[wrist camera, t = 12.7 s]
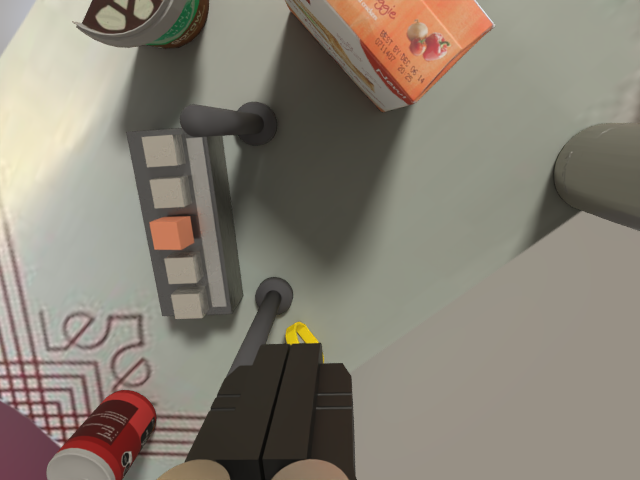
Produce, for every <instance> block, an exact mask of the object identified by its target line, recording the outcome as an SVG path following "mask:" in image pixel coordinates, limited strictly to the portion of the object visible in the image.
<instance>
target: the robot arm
mask: <svg viewBox="0 0 640 480" xmlns="http://www.w3.org/2000/svg"><path fill="white" fill-rule="evenodd" d="M554 182H555V186H556V189H557V191H558V193H559V195H560V197H561V198H562V199H563V200H564V201H565V202H566V203H567V204H569V205H570V206H572V207H574V208H576V209H579V210H582V211H585V212H587V213H590V214H593V215H596V216H598V217H601V218H604V219H607V220H609V221H612V222H615V223H618V224H621V225H624V226H627V227H630V228H632V229H635V230H638V231H640V123H606V124H598V125H594V126H591V127H589V128H587V129H584V130H582V131H581V132H579V133H578V134H576V135H575V136H574V137H572V138H571V139H570V141H569V142H568V143H567V144H566V145H565V146H564V148H563V149H562V151H561V152H560V154H559V156H558V159H557V161H556V164H555V169H554ZM354 446H355V442H354V417H353V399H352V379H351V375H350V374H349V372H348V371H347V369H346V368H345V366H344V365H343V363H328V364H323V352H322V345H321V343H296V344H292V345H291V344H262V345H261V346H260V347H259V350H258V352H257V355H256V357H255V360H254V362H253V365H241V366H238V367H237V368H236V369H235V370H234V371H233V372H232V373H231V374H230V375H228V376H227V377H226V378H225V379H224V381H223V383H222V386H221V388H220V390H219V392H218V394H217V398H215V400H214V402H213V404H212V406H211V411H209V412H208V414H207V417H206V419H205V421H204V423H203V425H202V427H201V429H200V431H199V433H198V435H197V437H196V439H195V441H194V443H193V445H192V448H191V450H190V452H189V454H188V456H187V458H186V460H185V462H184V463H182V464H179V465H177V466H175V467H173V468H171V469H169V470H168V471H167V472H165V473H164V474H162V475H161V476H160V477H159V478H158V479H156V480H357V479H356V476H355V447H354Z"/></svg>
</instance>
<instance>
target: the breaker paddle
mask: <svg viewBox="0 0 640 480" xmlns="http://www.w3.org/2000/svg"><path fill="white" fill-rule="evenodd" d="M149 223H150V229H151V234H152V239H153V244H154V249H155V250H182V249H184V248H186V247H187V246H189V245H191V244H193V243H194V237H193V231H192V225H191V219H190V216H178V217H162V218H159V219H157V220H154V221H151V222H149Z"/></svg>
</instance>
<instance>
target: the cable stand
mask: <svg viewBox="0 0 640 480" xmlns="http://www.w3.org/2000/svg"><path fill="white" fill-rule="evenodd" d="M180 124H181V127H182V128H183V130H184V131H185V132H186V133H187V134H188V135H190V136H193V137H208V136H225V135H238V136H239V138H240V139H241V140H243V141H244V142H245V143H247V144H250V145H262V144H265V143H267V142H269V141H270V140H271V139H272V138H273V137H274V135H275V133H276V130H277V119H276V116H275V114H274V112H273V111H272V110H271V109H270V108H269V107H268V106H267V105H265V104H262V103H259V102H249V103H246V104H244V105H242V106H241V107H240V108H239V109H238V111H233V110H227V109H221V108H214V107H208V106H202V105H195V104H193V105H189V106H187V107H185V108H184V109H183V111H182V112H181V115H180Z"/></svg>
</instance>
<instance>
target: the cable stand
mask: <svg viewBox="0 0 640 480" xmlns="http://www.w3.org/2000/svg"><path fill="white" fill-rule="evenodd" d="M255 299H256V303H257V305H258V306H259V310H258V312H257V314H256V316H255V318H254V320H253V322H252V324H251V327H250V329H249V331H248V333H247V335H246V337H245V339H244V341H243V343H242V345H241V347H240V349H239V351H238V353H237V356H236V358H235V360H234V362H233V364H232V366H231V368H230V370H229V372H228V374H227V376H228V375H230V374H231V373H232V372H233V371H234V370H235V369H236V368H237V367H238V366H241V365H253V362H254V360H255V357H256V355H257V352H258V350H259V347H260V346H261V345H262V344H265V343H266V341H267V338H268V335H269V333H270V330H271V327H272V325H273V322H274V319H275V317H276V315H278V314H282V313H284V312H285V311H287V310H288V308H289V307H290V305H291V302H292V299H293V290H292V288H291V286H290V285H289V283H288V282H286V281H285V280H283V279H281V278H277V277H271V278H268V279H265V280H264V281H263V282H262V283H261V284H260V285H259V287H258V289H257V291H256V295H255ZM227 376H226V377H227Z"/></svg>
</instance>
